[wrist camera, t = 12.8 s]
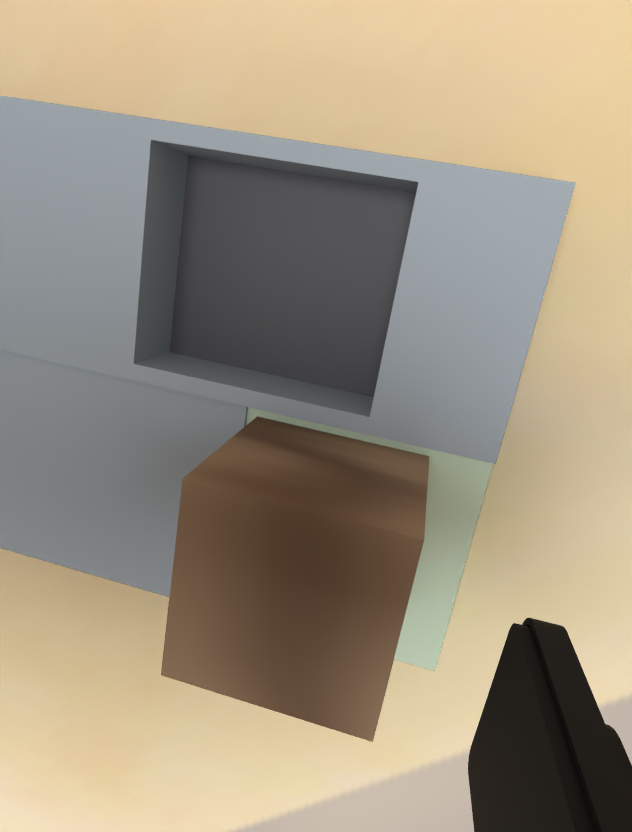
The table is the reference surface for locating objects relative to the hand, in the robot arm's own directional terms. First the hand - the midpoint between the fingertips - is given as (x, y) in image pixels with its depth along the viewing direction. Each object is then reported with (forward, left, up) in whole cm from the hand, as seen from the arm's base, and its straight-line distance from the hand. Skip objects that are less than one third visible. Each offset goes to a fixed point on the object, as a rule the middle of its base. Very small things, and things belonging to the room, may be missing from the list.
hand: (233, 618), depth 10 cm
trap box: (-9, +2, -9) cm, 13 cm away
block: (0, -1, -7) cm, 7 cm away
